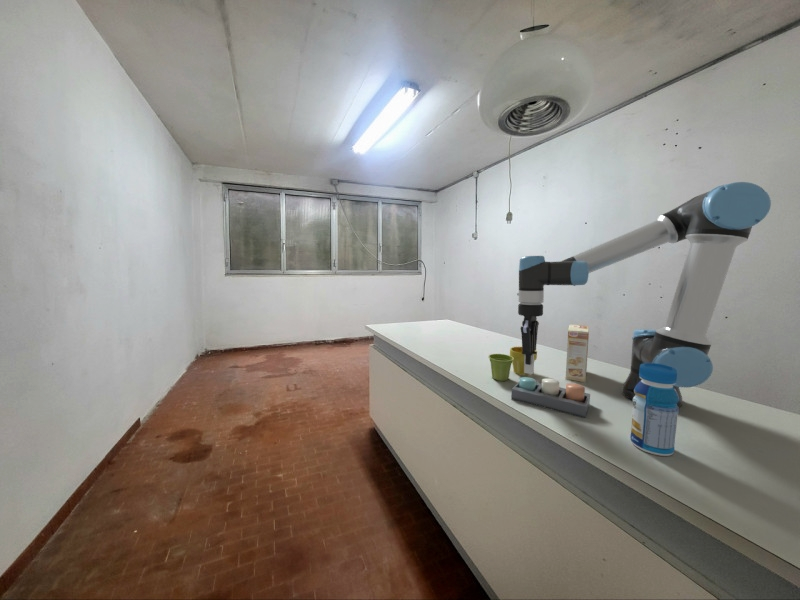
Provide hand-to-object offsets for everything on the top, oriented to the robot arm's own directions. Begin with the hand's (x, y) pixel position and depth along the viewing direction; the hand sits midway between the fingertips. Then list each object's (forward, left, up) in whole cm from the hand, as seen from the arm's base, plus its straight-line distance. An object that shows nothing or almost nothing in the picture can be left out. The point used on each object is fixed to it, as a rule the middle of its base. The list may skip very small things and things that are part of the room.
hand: (528, 372), depth 101 cm
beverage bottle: (-32, +12, -8) cm, 35 cm away
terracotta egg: (-14, 0, -6) cm, 15 cm away
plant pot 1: (+13, -11, -9) cm, 19 cm away
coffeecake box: (-10, -33, -9) cm, 35 cm away
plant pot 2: (+8, -23, -8) cm, 26 cm away
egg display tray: (-7, 0, -8) cm, 11 cm away
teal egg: (0, 0, -7) cm, 7 cm away
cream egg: (-7, 0, -6) cm, 9 cm away
